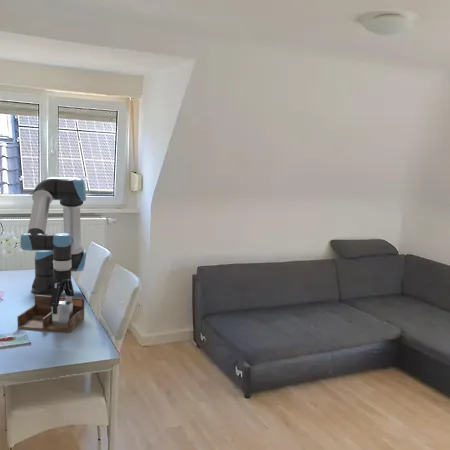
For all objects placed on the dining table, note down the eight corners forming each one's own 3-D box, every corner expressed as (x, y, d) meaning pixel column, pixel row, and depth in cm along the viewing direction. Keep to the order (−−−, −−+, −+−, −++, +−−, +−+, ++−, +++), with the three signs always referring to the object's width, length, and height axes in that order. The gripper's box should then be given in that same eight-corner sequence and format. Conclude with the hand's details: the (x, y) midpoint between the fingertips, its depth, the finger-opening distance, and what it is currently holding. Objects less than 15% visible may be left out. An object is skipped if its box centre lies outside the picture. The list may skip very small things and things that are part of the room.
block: (55, 321, 220) (55, 300, 219) (72, 323, 220) (72, 301, 218) (51, 324, 217) (51, 303, 215) (69, 326, 216) (69, 304, 214)
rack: (35, 315, 230) (35, 294, 228) (84, 319, 228) (84, 298, 226) (17, 328, 213) (17, 306, 212) (69, 332, 211) (69, 310, 210)
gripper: (65, 261, 226) (65, 305, 230) (41, 275, 202) (41, 324, 205) (81, 262, 226) (81, 306, 229) (58, 276, 201) (58, 325, 205)
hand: (62, 315), depth 217 cm, fingers open, 13 cm apart
